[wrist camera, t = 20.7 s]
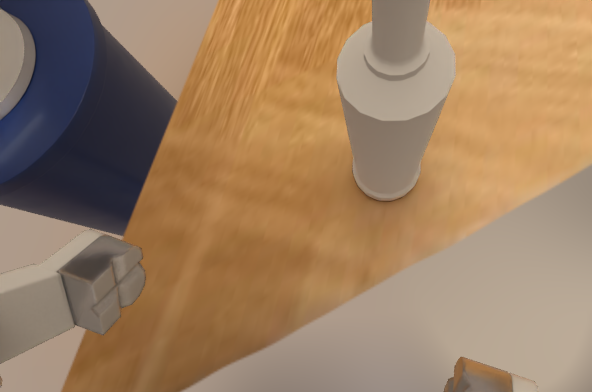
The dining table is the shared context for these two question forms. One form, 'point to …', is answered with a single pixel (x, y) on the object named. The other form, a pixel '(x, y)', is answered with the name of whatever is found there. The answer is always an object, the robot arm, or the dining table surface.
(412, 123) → the white round tapered piece
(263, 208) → the dining table surface
